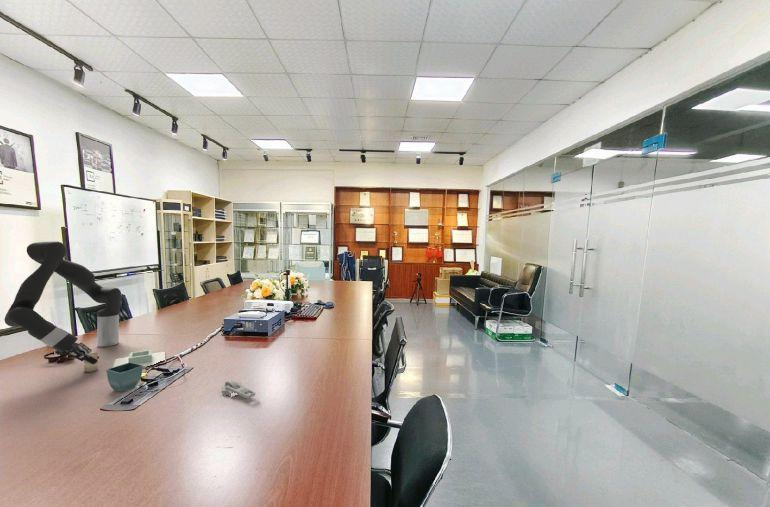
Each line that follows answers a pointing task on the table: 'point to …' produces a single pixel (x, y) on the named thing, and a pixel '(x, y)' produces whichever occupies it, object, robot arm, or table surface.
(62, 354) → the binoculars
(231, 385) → the zipper pull
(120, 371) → the flower pot
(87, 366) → the beige upright block
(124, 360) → the holder
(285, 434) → the table surface
